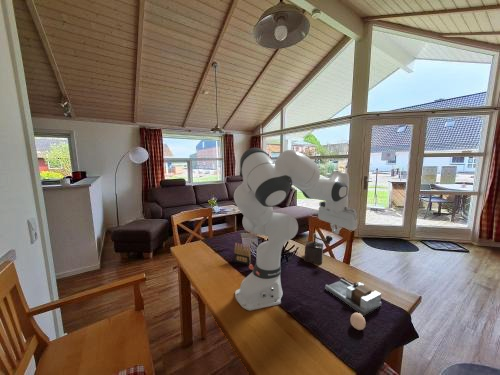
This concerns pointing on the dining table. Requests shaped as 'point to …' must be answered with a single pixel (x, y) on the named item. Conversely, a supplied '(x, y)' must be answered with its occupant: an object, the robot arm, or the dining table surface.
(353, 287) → the free jaw
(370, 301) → the vise
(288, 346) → the dining table surface
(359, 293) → the block
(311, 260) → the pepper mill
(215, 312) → the dining table surface
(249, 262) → the ammunition clip
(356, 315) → the egg
